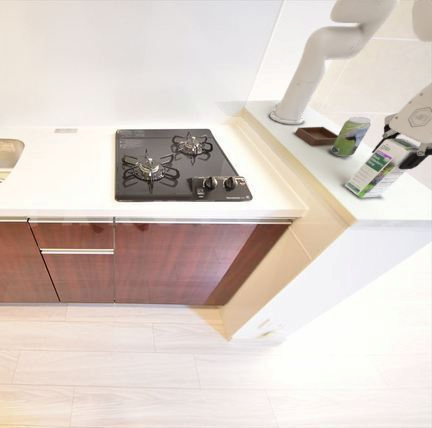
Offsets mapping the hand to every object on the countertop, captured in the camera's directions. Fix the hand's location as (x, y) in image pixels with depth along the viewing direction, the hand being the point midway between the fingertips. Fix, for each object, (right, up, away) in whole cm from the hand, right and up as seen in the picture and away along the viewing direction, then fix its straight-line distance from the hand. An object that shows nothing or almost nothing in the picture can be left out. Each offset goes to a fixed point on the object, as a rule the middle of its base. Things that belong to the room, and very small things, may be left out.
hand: (391, 159), depth 57 cm
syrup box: (0, -7, +7) cm, 10 cm away
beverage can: (+8, +7, +22) cm, 24 cm away
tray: (+7, +15, +29) cm, 34 cm away
